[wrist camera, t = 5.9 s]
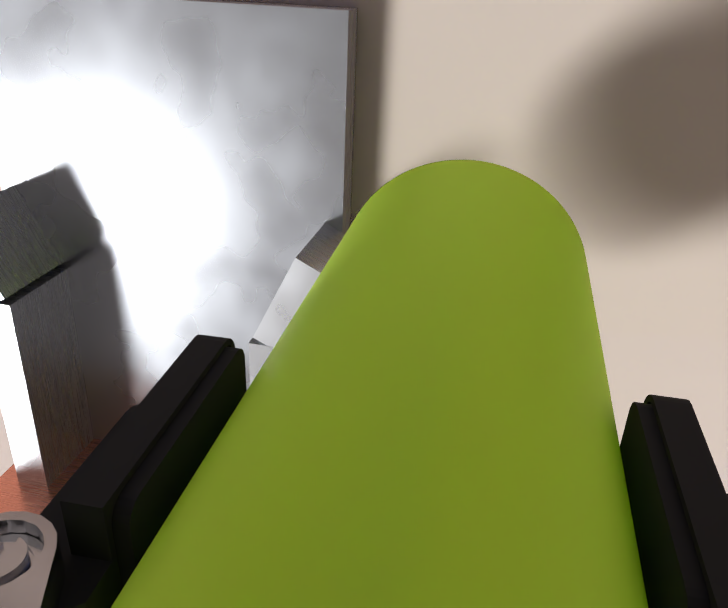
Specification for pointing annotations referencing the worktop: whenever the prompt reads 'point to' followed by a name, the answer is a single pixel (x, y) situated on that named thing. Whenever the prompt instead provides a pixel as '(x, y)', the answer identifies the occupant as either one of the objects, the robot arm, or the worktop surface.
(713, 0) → the worktop surface
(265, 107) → the grey slotted bracket
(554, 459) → the soap dispenser
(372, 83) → the worktop surface
